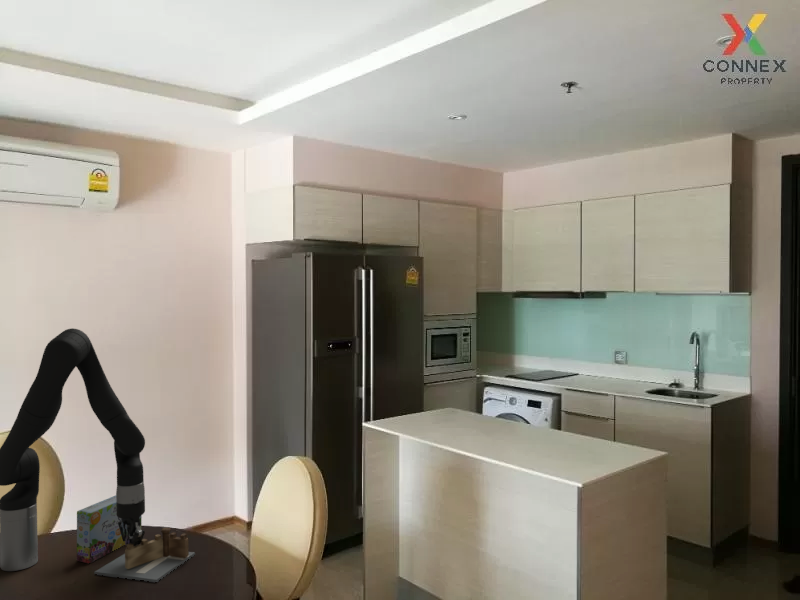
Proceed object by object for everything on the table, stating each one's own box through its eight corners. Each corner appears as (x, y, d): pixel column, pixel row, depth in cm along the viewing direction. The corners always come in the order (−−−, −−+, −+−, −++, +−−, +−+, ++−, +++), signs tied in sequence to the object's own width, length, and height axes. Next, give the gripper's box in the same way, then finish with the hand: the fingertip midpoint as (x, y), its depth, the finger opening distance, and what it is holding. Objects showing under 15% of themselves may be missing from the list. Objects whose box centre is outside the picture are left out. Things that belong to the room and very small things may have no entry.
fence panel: (127, 569, 174) (127, 546, 174) (125, 567, 175) (124, 545, 175) (163, 556, 182) (162, 534, 182) (160, 555, 183) (160, 533, 183)
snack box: (91, 564, 180) (90, 512, 180) (76, 562, 182) (75, 510, 182) (143, 536, 200) (142, 490, 200) (128, 534, 202) (128, 488, 202)
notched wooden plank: (159, 559, 183) (159, 530, 183) (165, 556, 185) (164, 527, 185) (184, 562, 181) (184, 533, 180) (189, 558, 183) (189, 529, 183)
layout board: (94, 574, 174) (94, 571, 174) (137, 548, 191) (137, 545, 191) (156, 582, 168) (156, 579, 168) (195, 555, 186) (195, 552, 186)
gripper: (107, 496, 181) (109, 555, 181) (127, 507, 172) (128, 569, 172) (133, 489, 186) (134, 547, 187) (153, 500, 177) (154, 560, 178)
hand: (131, 557), depth 179 cm, fingers closed
